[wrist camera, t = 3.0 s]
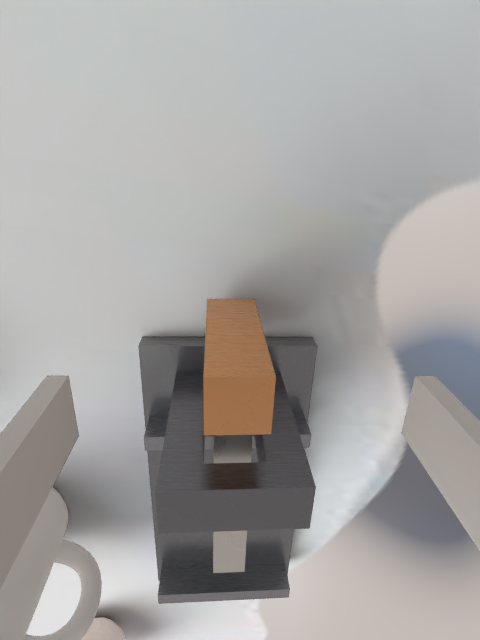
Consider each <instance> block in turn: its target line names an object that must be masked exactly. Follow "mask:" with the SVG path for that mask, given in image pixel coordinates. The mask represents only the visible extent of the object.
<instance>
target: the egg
mask: <svg viewBox="0 0 480 640" xmlns="http://www.w3.org/2000/svg"><path fill="white" fill-rule="evenodd" d="M82 640H127V639H126V637H125V635H124V633H123V631H122V629H121V628H120V626H119V625H117V624H116V623H115V622H113V621H112V620H110V619H107V618H104V617H101V618H94V620H93V622H92V624H91V626H90V628H89V630H88V631H87V633H86V634H85V636H84V637H83V638H82Z"/></svg>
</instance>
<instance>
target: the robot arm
mask: <svg viewBox="0 0 480 640" xmlns="http://www.w3.org/2000/svg"><path fill="white" fill-rule="evenodd" d="M401 434H402V435H403V437H404V438H405V440H406V441H407V443H408V444H409V445H410V447H411V448H412V450H413V451H414V453H415V454H416V456H417V457H418V459H419V460H420V462H421V463H422V465H423V466H424V468H425V469H426V471H427V472H428V474H429V475H430V477H431V478H432V480H433V481H434V483H435V484H436V486H437V487H438V489H439V490H440V492H441V493H442V495H443V496H444V498H445V499H446V501H447V502H448V504H449V505H450V507H451V508H452V510H453V511H454V513H455V514H456V516H457V517H458V519H459V520H460V522H461V523H462V525H463V526H464V528H465V529H466V531H467V532H468V534H469V535H470V537H471V538H472V540H473V541H474V543H475V544H476V546H477V547H478V549H479V550H480V421H479V420H478V419H477V418H476V417H475V416H474V415H473V414H472V413H471V412H470V411H469V410H468V409H467V408H466V407H465V406H464V405H463V404H462V403H461V402H460V401H459V400H458V399H457V398H456V397H455V396H454V395H453V394H452V393H451V392H450V391H449V390H448V389H447V388H446V387H445V386H444V385H443V384H442V383H441V382H440V381H439V380H438V379H437V378H436V377H435V376H415V380H414V384H413V388H412V392H411V396H410V400H409V404H408V408H407V412H406V416H405V420H404V424H403V428H402V432H401ZM78 436H79V434H78V428H77V422H76V416H75V410H74V404H73V399H72V393H71V387H70V381H69V376H46V378H45V379H44V380H43V381H42V383H41V384H40V385H39V386H38V388H37V389H36V390H35V391H34V393H33V394H32V395H31V396H30V398H29V399H28V400H27V401H26V403H25V404H24V405H23V406H22V408H21V409H20V410H19V411H18V413H17V414H16V415H15V416H14V418H13V419H12V420H11V421H10V423H9V424H8V425H7V426H6V428H5V429H4V430H3V431H2V433H1V434H0V589H1V587H2V585H3V583H4V581H5V579H6V577H7V575H8V573H9V571H10V569H11V567H12V565H13V564H14V562H15V560H16V558H17V556H18V554H19V552H20V550H21V548H22V546H23V544H24V542H25V540H26V538H27V536H28V534H29V532H30V530H31V528H32V526H33V524H34V522H35V520H36V519H37V517H38V515H39V513H40V511H41V509H42V507H43V505H44V503H45V501H46V499H47V497H48V495H49V493H50V491H51V489H52V487H53V485H54V483H55V481H56V479H57V477H58V475H59V474H60V472H61V470H62V468H63V466H64V464H65V462H66V460H67V458H68V456H69V454H70V452H71V450H72V448H73V446H74V444H75V442H76V440H77V438H78Z"/></svg>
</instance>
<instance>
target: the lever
mask: <svg viewBox="0 0 480 640" xmlns="http://www.w3.org/2000/svg"><path fill="white" fill-rule="evenodd" d="M275 382H276V375H275V372H274V368H273V365H272V361H271V358H270V354H269V350H268V347H267V343H266V340H265V336H264V332H263V329H262V325H261V322H260V318H259V314H258V311H257V307H256V304H255V300H254V299H207V314H206V334H205V354H204V375H203V394H204V435H214V463H251V453H252V436H253V435H263V434H271V430H272V418H273V406H274V394H275ZM246 539H247V531H220V532H213V573H227V572H245V556H246Z"/></svg>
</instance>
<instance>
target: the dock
mask: <svg viewBox="0 0 480 640" xmlns="http://www.w3.org/2000/svg"><path fill="white" fill-rule="evenodd" d="M265 340H266V343H267V347H268V350H269V354H270V358H271V361H272V365H273V368H274V372H275V375H276V382H275V394H274V406H273V418H272V430H271V434H263V435H253V436H252V453H251V463H214V435H204V394H203V375H204V354H205V337H142V339H141V341H140V344H139V356H140V368H141V380H142V392H143V403H144V415H145V427H146V431H145V435H144V444H145V451H146V450H148V462H149V474H150V485H151V497H152V509H153V521H154V532H155V544H156V556H157V568H158V579H159V581H160V583H159V591H158V602H159V604H161V603H182V602H202V601H223V600H244V599H264V598H283V597H289V591H290V588H289V582H288V576H287V574H288V566H289V559H290V551H291V543H292V536H293V529H305V528H310V521H311V515H312V508H313V502H314V495H315V489H316V486H315V483H314V480H313V477H312V473H311V470H310V467H309V464H308V460H307V457H306V454H305V450H304V447H309V446H310V439H311V433H310V430H309V427H308V424H307V420H308V413H309V405H310V397H311V390H312V382H313V374H314V367H315V359H316V351H317V345H316V343H315V341H314V339H313V337H265ZM220 531H247V539H246V556H245V572H227V573H213V532H220Z"/></svg>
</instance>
